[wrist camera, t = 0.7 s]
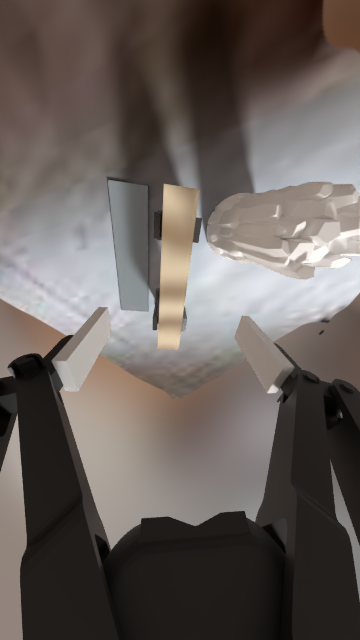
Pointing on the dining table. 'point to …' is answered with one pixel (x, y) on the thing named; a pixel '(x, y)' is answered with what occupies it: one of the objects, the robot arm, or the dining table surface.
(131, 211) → the mat
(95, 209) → the dining table surface
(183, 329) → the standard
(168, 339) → the rail
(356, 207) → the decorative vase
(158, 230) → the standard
